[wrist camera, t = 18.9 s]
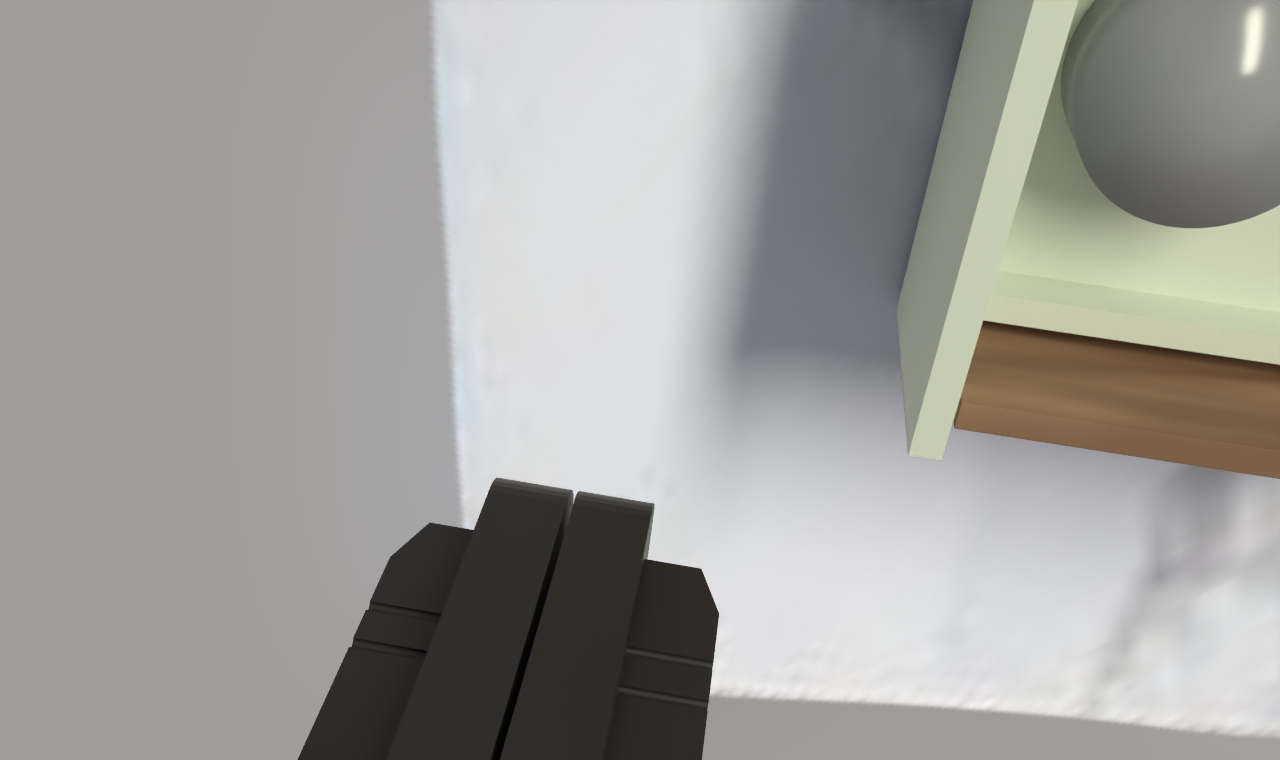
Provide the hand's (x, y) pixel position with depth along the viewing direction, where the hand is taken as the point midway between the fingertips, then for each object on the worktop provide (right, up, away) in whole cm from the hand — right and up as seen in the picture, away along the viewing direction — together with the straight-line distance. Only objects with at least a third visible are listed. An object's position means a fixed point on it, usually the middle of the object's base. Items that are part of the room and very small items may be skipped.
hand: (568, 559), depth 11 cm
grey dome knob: (+14, +9, +17) cm, 24 cm away
